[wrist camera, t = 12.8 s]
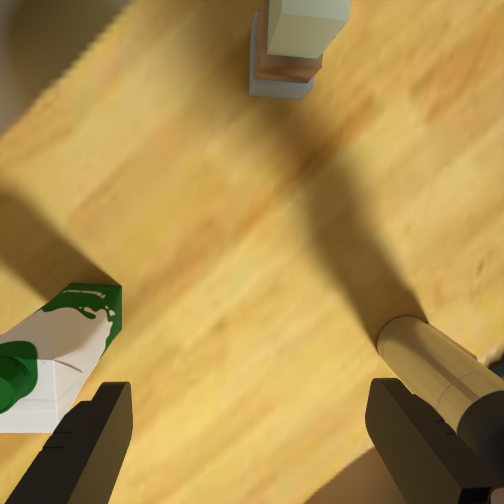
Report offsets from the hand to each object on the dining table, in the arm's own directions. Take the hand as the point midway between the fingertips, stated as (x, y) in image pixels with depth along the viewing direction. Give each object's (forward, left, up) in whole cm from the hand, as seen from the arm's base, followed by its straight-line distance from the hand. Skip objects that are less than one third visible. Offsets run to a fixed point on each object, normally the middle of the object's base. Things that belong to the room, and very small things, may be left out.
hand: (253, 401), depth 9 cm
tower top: (-6, -21, -28) cm, 35 cm away
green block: (-6, -21, -23) cm, 32 cm away
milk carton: (+19, +12, -33) cm, 40 cm away
